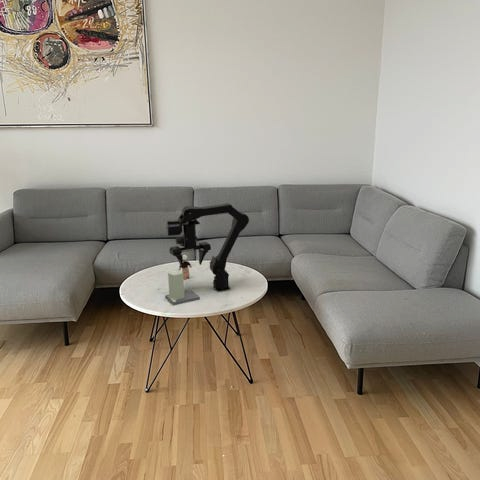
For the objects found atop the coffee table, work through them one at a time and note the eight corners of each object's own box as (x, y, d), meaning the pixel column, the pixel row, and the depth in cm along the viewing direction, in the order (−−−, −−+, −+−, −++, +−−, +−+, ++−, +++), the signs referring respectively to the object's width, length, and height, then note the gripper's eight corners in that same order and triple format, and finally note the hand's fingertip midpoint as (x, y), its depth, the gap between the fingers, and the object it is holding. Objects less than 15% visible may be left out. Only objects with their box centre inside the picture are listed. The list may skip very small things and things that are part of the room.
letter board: (191, 292, 212) (191, 289, 212) (199, 299, 203) (199, 296, 203) (165, 297, 206) (165, 294, 206) (172, 305, 198) (172, 302, 197)
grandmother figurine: (188, 275, 234) (186, 252, 231) (193, 277, 232) (192, 253, 228) (177, 279, 228) (175, 256, 225) (182, 281, 226) (181, 257, 223)
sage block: (179, 294, 205) (177, 270, 202) (184, 298, 202) (183, 273, 198) (169, 297, 203) (167, 272, 199) (174, 300, 199) (173, 275, 196)
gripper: (201, 227, 216) (202, 258, 220) (164, 232, 207) (166, 264, 211) (210, 232, 206) (211, 264, 210) (172, 238, 198) (174, 271, 202)
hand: (191, 266), depth 209 cm, fingers open, 9 cm apart
